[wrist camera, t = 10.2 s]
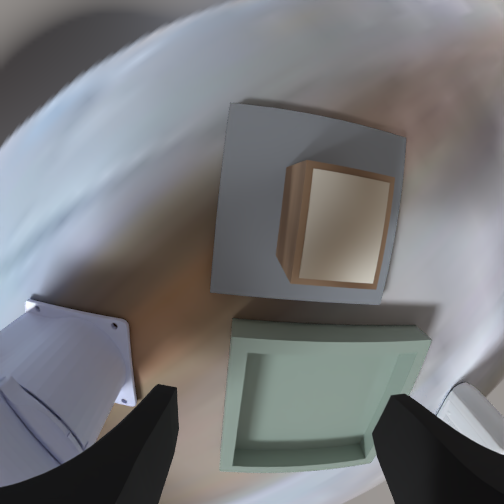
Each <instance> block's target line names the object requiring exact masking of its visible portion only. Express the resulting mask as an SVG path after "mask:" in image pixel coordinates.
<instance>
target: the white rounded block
mask: <svg viewBox="0 0 504 504" xmlns="http://www.w3.org/2000/svg"><path fill="white" fill-rule="evenodd" d="M437 417H438V418H440V419H441V420H442V421H444V422H445V423H447V424H448V425H449V426H451V427H452V428H454V429H455V430H457V431H458V432H460V433H461V434H463V435H465V436H466V437H468V438H469V439H471V440H473V441H475V442H476V443H478V444H480V445H482V446H484V447H486V448H488V449H490V450H493V451H495V452H497V453H500V454H503V455H504V417H503V416H502V414H501V413H500V412H499V411H498V410H497V409H496V408H495V407H494V406H493V405H492V404H491V403H490V402H489V401H488V400H487V399H486V398H485V397H484V395H483V394H482V393H481V392H480V391H479V390H478V389H477V388H475V387H474V386H473V385H470V384H469V383H461V384H459V385H457V386H456V387H454V388H453V390H452V391H451V392H450V393H449V395H448V396H447V398H446V400H445V401H444V403H443V405H442V407H441V409H440V410H439V412H438V414H437Z"/></svg>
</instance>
